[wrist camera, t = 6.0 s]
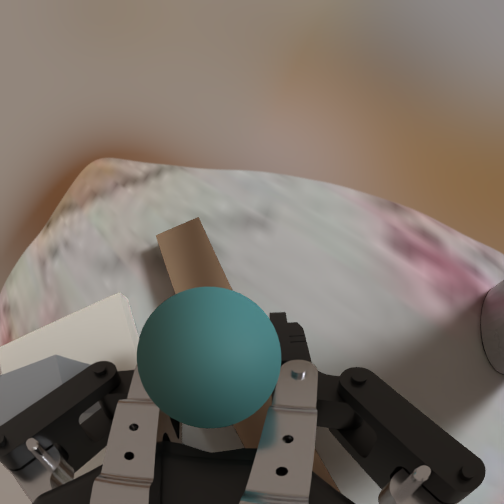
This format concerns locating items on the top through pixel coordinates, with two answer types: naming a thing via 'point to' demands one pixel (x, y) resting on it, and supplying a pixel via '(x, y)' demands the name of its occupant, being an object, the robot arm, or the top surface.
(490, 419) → the top surface
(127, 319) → the ridge stand
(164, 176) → the top surface
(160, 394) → the teal peg on base
